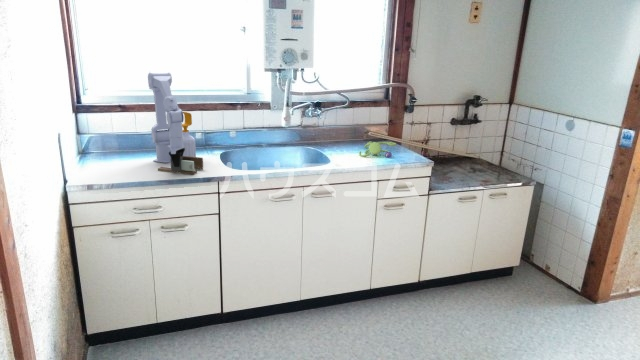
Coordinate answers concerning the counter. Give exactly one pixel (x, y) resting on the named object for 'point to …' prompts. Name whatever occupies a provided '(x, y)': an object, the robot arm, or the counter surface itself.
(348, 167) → the counter surface
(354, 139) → the counter surface
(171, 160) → the block
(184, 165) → the pale green block
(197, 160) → the door frame
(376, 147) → the figurine
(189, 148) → the soap bottle
